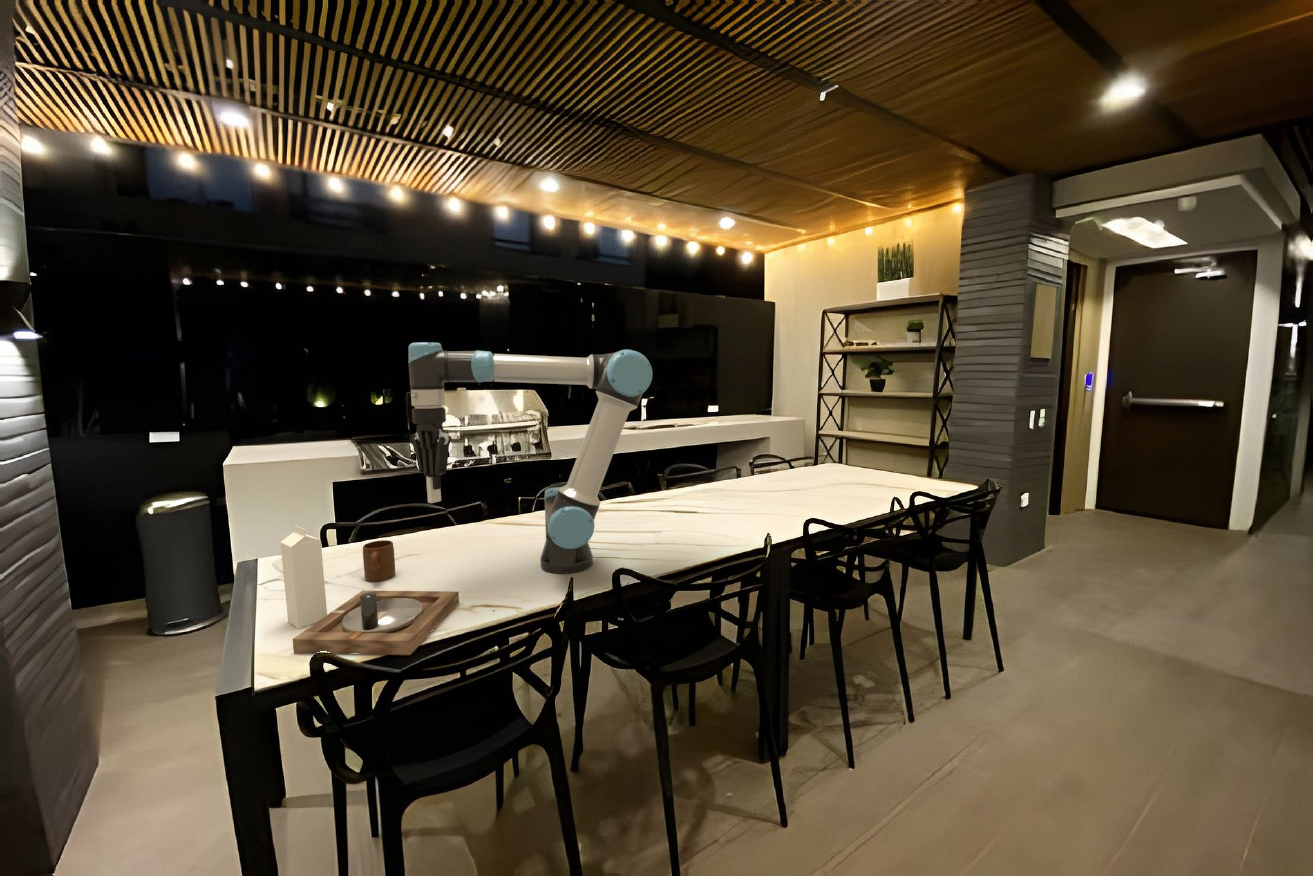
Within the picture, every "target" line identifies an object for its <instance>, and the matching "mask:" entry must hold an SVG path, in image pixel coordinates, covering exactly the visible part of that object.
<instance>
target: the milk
mask: <svg viewBox="0 0 1313 876" xmlns="http://www.w3.org/2000/svg"><path fill="white" fill-rule="evenodd" d="M293 528H294V529H293V530H294V531H293V532H292V533H290V535H287V536H286V537H285V538H284V539H283V540H281V541H280V550H281V553H280V554H281V561H282V563H281V564H282V571H283V572H282V573H283V584H284V592H285V594H284V595H285V603H286V612H287V615H286V616H287V622H288V623H290V624H291V625H292V626H294V627H295V628H296V629H298V630H300V629H303V628H306V627H310V626H312V625H314V624H315V623H317V622H318V621H319V620H321V619H322V618H324V617H325V616H327V615H328V612H327V611H328V609H327V596H326V586H325V584H326V583H325V575H324V563H323V561H324V560H323V553H322V552H323V551H322V541H321V539H319V538H317V537H315V536H312V535H310V534H306V530H305V528H303V527H300V526H299V525H298V526H297V525H295V524H294V525H293Z"/></svg>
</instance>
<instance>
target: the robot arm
mask: <svg viewBox="0 0 1313 876" xmlns="http://www.w3.org/2000/svg"><path fill="white" fill-rule="evenodd" d="M407 363H408V372H409V374H408V375H409V388H410V397H411V398H410V399H411V406H412V407H414V408H412V409H411V417H412V418H411V419H412V423H413V424H415V425H417V426H416V432H415V433H414V434H413V433H412V434H410V440H411V441H412V444H413V447H414V448H413V449H414V454H415V457H416V458H415V459H416V462H417V467H418V472H419V473H420V474H423V475H424V477H425V485H426V493H427V503H428V504H433V503H438V502H442V492H441V488H442V485H441V484H442V482H441V480H442V479H441V477H442V475H444V474H447V472H448V471H447V468H448V461H449V460H448V459H449V450H450V443H451V441H452V436H450V435H446V434H445V430H444V427H443V424H444V423H446V421H447V415H446V408H445V407H444V405H445V404H446V396H445V383H452V382H453V383H458V382H459V383H484V382H487V383H489V382H491V383H493V382H499V383H500V382H501V383H502V382H503V383H524V384H525V383H526V384H527V383H528V384H557V385H578V386H579V385H580V386H581V385H583V386H587V387H588V388H589V389H596V390H595V393H596V396H597V398H598V401H597V404H596V406H595V409H594V412H593V415H592V417H591V419H590V422H589V426H588V428H587V430H586V433H585V436H584V438H583V440H582V441H583V442H582V444H581V446H580V449H579V452H578V454H577V457H576V458H575V462H574V465H573V467H572V470H571V472H570V475H569V478H568V480H567V483H566V484H565V485H563V486H558V487H557V486H556V487H550V488H547V489H546V490H545V491H544V498H543V501H544V517H545V518H544V521H545V525H544V526H545V542H544V545H543V549H542V551H541V555H540V567H541V569H542V570H543V571H545V572H548V573H553V574H573V573H579V572H582V571H585V570H587V569H589V568H590V567H591V566H593V564H594V561H593V560H594V557H593V553H592V550H591V547H590V544H589V541H590V540H591V539H592V537H593V534H594V531H595V519H596V516H597V513H598V511H599V508H600V506H601V502H600V499H599V496H598V494H599V492H600V489H601V486H602V484H603V482H604V479H605V476H606V473H607V472H608V468H609V465H610V464H611V460H612V457H613V455H614V453H615V451H616V447H617V445H618V443H619V440H620V438H621V434H622V431H623V429H624V426H625V424H626V421H627V419H628V416H629V414H630V412H631V411H633V410H636V409H637V408H638V407H639V404H640V401H641V398H642V396H643V394H644V393H645V392H646V391H647V389H648V388H649V387H650V385H651V382H652V380H653V368H652V365H651V363H650V361H649V360H648V358H647V357H646V355H644V354H642V353H641V352H639V351H636V350H632V349H621V350H619V351H615V352H611V353H604V354H593V353H592V354H590V355H589V356H587V357H575V356H573V357H572V356H549V355H530V354H529V355H527V354H509V353H508V354H507V353H506V354H505V353H492V351H488V350H487V351H486V350H461V351H460V350H456V351H454V350H453V351H450V350H443V348H442V344H441V343H440V342H428V341H427V342H425V341H424V342H423V341H422V342H412V343H410V344H409V345H408V361H407Z"/></svg>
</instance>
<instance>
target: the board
mask: <svg viewBox="0 0 1313 876" xmlns="http://www.w3.org/2000/svg"><path fill="white" fill-rule="evenodd" d="M369 592H374V593H376V598H377V601H379V600H384V599H391V598H410V599H415V600H417V601H419V602H421V603H422V605H423V614H422V615H421V616H420V617H419V618H418V619H417V620H416V621H415V622H414V623H412V624H411V625H409V626H407V627H404V628H402V629H399V630H396V631H393V632H389V633H362V632H356V633H346V632H345V631H344V630H343V628H342V619H343V618H344V616H345V615H346V614H347V613H349V612H350V611H352V610H354V609H355V608H357V607H360V606H361V604H360V596H361V595H362V594H365V593H369ZM459 604H460V594H459V591H450V590H448V591H446V590H445V591H443V590H442V591H438V590H436V591H435V590H366V589H365V590H361V591H360V592H358V593H357V594H355V595H354V596H353V597H351V598H349V599H348V600H347V601H345V602H344V603H343V604H341V605H339V606H338V607H336V608H335V609H333V610H331V611H330V612H329V613H327V616H325V617H324V618H322V619H321V620H319V621H318V622H317V623H315V624H312V625H310V626H308V628H306V629H305V630H303V631H302V632H301V633H299V634H298V635H296V636H295V637H293V638H292V648H293V653H294V654H309V655H310V654H316V653H317V652H320V651H327V652H330V653H333V654H332V655H351V654H350V653H357V654H356V655H371V656H372V655H374V656H375V655H379V656H380V655H382V656H384V655H386V656H387V655H388V656H391V655H392V656H398V655H399V656H411V655H412V654H413V653H414V652H415V651H416V650H417V648H418V647H420V646H421V644H422V643H423V642H424V641H425V640H426V639H427V638H428V637H429V636H430V635H431V634H430V632H431V631H432V630H433V629H434V628H435V627H436V626H437V625H438V624H439V623H440V622H441V621H442V620H443V619H444V618H445V617H446V616H449V615H450V613H452V612H453V610H454V609H455V608H456V607H457V606H458V605H459ZM448 614H449V615H448ZM446 618H447V617H446ZM446 618H445V619H446ZM445 619H444V620H445ZM444 620H443V621H444ZM443 621H442V622H443ZM442 622H441V623H442ZM441 623H440V624H441ZM440 624H439V625H440ZM439 625H438V626H439ZM438 626H437V627H438ZM437 627H436V628H437ZM436 628H435V629H436ZM435 629H434V630H435ZM434 630H433V631H434ZM429 634H430V635H429ZM428 635H429V636H428ZM427 636H428V637H427ZM426 637H427V638H426ZM425 638H426V639H425ZM358 653H359V654H358Z"/></svg>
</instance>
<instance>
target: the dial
mask: <svg viewBox="0 0 1313 876" xmlns="http://www.w3.org/2000/svg"><path fill="white" fill-rule="evenodd" d="M360 604H361V606H360V607H357V608H355V609H354V610H352V611H350V612H349V613H347V614H346V615H345V616H344V618H343V619H342V628H343V630H344V631H345V632H346V633H356V632H362V633H389V632H393V631H396V630H399V629H402V628H404V627H407V626H409V625H411V624H412V623H414V622H415V621H416V620H417V619H418V618H419V617H420V616H421V615H422V614H423V605H422V603H421V602H419V601H417V600H415V599H410V598H391V599H384V600H379V601H377V598H376V593H374V592H369V593H365V594H362V595H361V596H360Z"/></svg>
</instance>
